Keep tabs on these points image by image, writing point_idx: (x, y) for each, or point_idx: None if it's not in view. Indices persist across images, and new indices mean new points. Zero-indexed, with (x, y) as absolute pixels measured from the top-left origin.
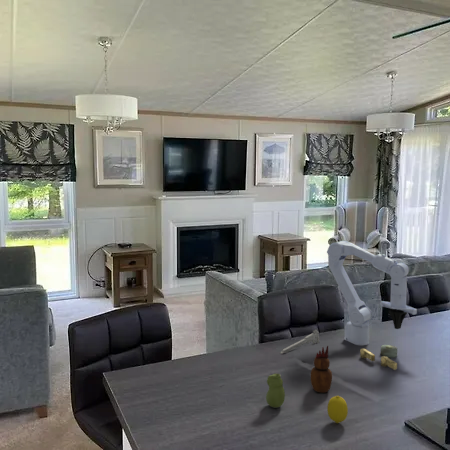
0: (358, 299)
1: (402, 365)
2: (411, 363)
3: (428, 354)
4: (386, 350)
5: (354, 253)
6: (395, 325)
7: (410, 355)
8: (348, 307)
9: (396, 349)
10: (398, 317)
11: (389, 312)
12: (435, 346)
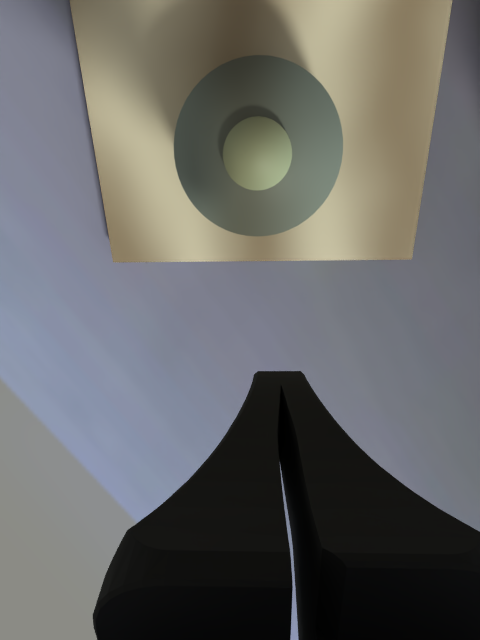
0: None
1: None
2: (98, 210)
3: (152, 427)
4: (230, 61)
5: None
6: (284, 390)
7: (200, 332)
8: None
9: (182, 175)
10: (196, 489)
11: (460, 537)
12: None
